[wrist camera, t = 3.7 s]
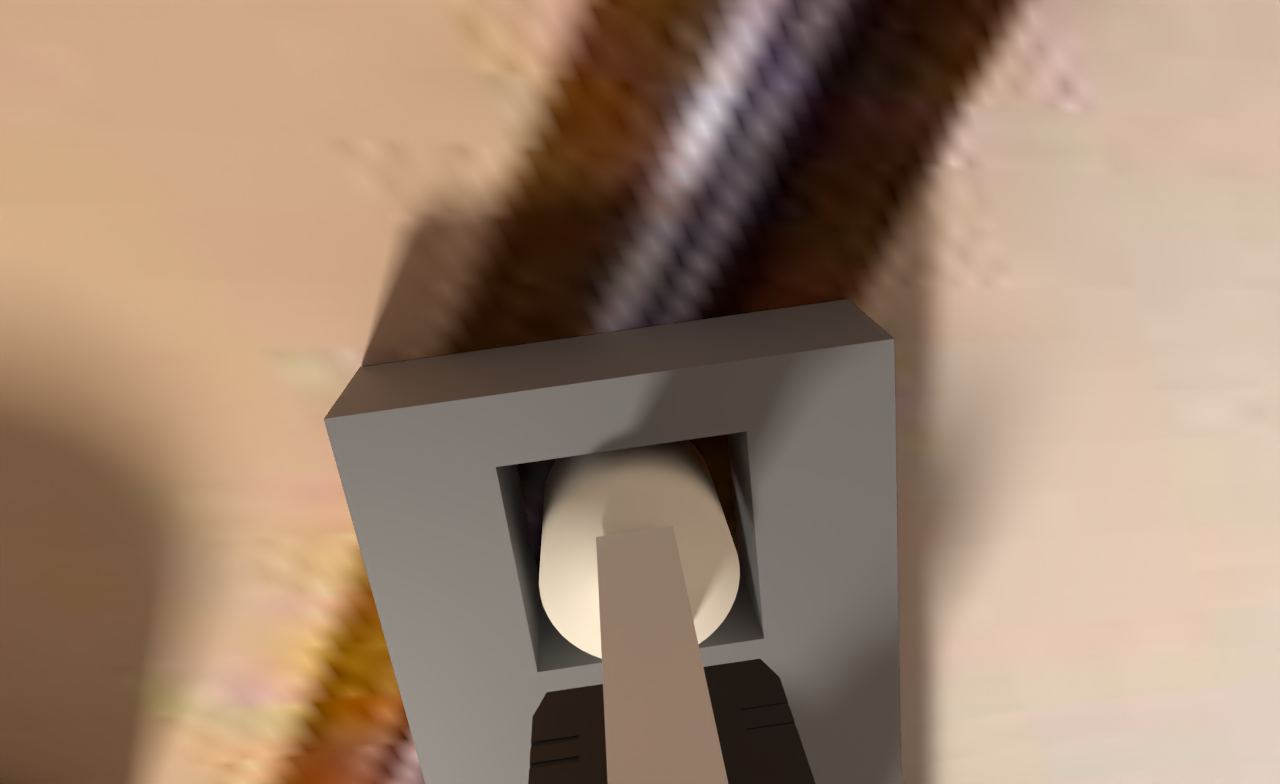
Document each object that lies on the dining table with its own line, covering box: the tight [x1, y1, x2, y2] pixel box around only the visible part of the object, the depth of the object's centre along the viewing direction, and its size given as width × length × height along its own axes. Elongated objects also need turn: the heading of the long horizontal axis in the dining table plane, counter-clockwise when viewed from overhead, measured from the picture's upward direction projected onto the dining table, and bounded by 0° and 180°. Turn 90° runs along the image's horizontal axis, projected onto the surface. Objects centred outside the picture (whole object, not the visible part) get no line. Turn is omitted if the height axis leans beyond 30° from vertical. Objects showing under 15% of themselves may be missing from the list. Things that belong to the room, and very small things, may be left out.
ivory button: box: [539, 440, 740, 659], centre depth 19 cm, size 4×4×4 cm
